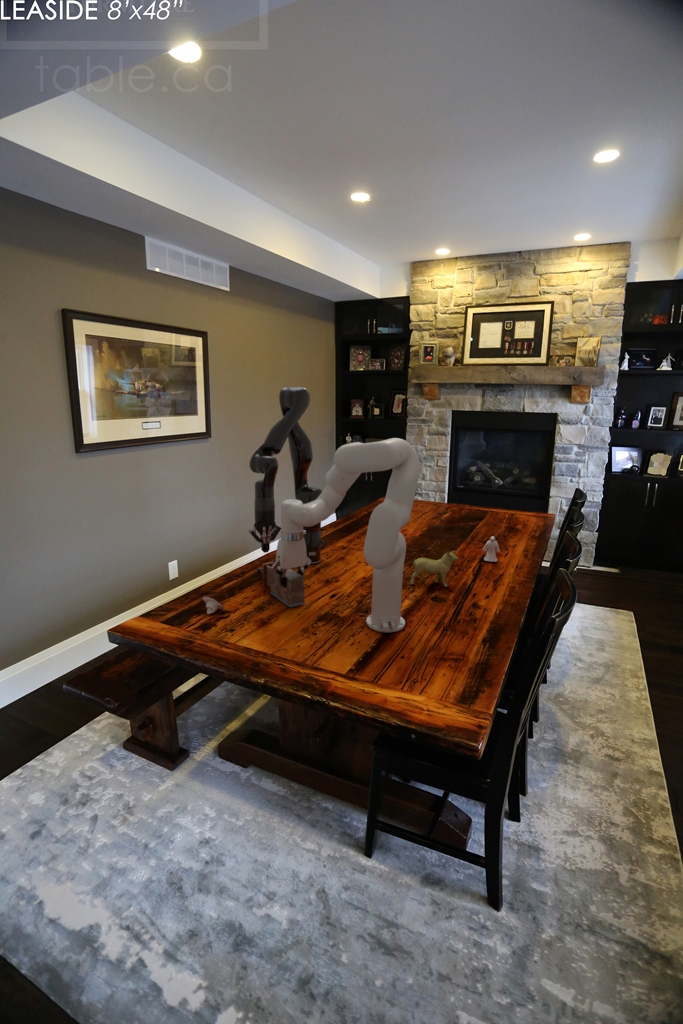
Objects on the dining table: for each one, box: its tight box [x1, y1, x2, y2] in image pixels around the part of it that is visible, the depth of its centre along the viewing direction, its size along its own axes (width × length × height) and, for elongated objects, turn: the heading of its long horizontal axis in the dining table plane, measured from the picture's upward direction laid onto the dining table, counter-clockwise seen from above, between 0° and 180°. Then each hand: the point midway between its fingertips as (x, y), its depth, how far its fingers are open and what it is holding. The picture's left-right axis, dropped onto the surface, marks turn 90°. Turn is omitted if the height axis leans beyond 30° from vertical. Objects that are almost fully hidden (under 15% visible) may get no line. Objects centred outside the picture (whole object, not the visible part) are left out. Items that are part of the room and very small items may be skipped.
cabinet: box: [270, 566, 306, 608], centre depth 179 cm, size 16×6×10 cm, turn 33°
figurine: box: [482, 535, 501, 563], centre depth 223 cm, size 8×8×12 cm
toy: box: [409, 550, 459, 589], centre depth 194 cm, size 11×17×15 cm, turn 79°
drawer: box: [257, 561, 275, 589], centre depth 188 cm, size 20×4×8 cm, turn 33°
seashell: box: [202, 596, 226, 615], centre depth 167 cm, size 8×5×8 cm
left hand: (265, 551), depth 191 cm, fingers closed
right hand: (291, 584), depth 175 cm, fingers closed on cabinet, 5 cm apart
